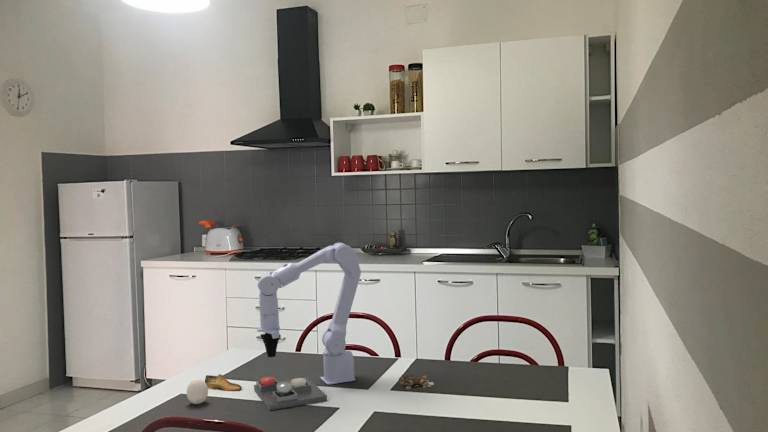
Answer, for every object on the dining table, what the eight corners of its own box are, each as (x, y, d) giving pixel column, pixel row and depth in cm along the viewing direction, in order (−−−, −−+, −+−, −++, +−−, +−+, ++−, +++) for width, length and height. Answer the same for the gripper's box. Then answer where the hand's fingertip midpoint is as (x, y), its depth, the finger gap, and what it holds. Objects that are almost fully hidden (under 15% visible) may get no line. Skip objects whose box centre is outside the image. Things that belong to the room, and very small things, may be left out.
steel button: (290, 389, 192) (289, 381, 192) (294, 393, 188) (293, 385, 188) (275, 391, 191) (274, 383, 190) (279, 396, 187) (278, 387, 186)
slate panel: (306, 381, 210) (306, 372, 210) (327, 400, 190) (326, 390, 190) (254, 389, 203) (253, 380, 203) (269, 410, 184) (269, 400, 184)
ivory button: (303, 385, 201) (303, 377, 201) (307, 389, 197) (307, 381, 197) (289, 387, 199) (289, 379, 199) (293, 391, 195) (293, 383, 195)
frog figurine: (406, 394, 195) (405, 381, 195) (391, 383, 206) (390, 371, 206) (440, 388, 199) (440, 376, 199) (424, 378, 210) (423, 366, 210)
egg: (209, 399, 196) (208, 374, 195) (207, 406, 190) (206, 380, 189) (188, 401, 195) (187, 376, 194) (186, 408, 189) (184, 382, 188)
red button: (273, 383, 203) (273, 376, 203) (277, 387, 199) (276, 379, 199) (259, 386, 201) (259, 378, 201) (262, 390, 197) (262, 381, 197)
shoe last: (237, 393, 202) (236, 378, 201) (202, 388, 208) (201, 373, 207) (245, 389, 205) (245, 374, 205) (211, 384, 211) (211, 369, 211)
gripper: (251, 311, 209) (253, 353, 210) (262, 319, 196) (264, 364, 196) (273, 308, 212) (275, 350, 212) (285, 316, 198) (287, 360, 199)
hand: (271, 356), depth 205 cm, fingers closed
